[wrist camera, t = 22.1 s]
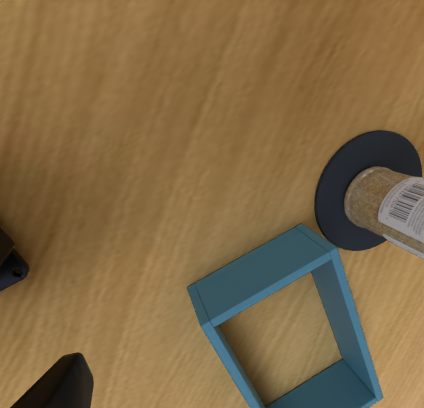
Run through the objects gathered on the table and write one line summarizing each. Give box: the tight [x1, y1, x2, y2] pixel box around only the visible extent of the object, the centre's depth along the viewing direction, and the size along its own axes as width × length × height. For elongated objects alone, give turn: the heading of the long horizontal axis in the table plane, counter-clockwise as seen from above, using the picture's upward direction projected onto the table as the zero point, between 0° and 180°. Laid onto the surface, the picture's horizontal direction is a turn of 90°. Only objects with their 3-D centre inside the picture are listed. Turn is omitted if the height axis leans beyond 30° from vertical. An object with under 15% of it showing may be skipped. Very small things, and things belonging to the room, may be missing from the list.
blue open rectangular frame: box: [187, 224, 383, 408], centre depth 23 cm, size 9×15×4 cm, turn 25°
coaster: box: [315, 131, 422, 251], centre depth 23 cm, size 9×9×1 cm
